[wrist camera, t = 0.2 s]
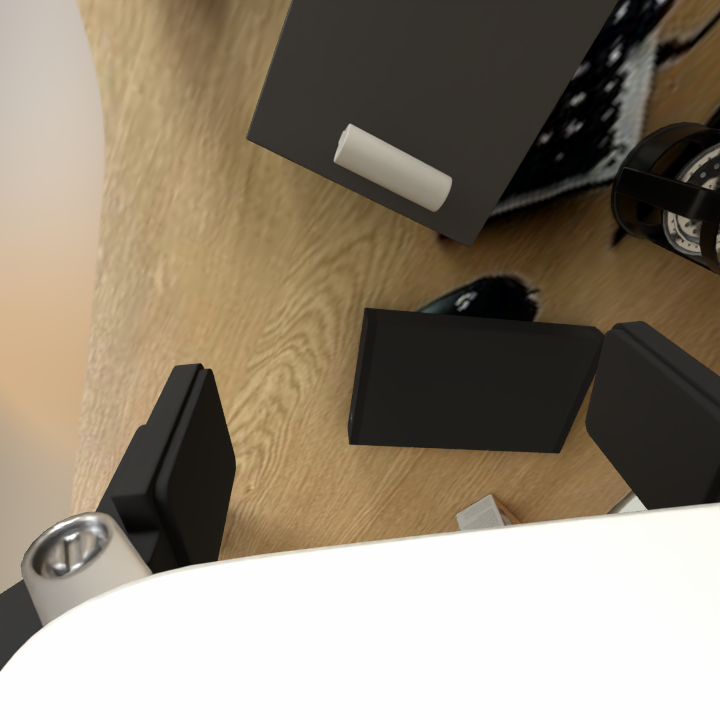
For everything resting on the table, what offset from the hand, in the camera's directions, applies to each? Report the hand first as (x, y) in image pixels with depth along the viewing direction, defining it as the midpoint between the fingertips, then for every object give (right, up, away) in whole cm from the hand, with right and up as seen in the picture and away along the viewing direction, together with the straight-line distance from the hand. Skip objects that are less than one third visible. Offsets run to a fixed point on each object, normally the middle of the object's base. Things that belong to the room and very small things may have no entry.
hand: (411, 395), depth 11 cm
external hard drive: (+10, -1, +38) cm, 39 cm away
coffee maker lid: (+2, +17, +12) cm, 21 cm away
